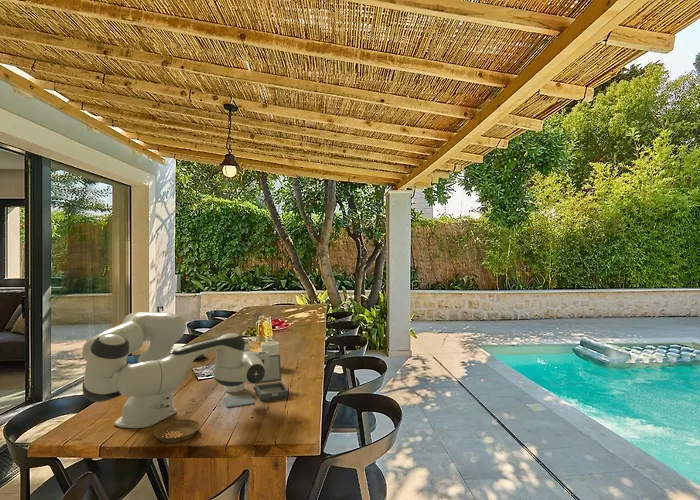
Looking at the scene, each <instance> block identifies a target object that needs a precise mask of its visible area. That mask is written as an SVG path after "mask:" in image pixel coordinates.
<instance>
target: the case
mask: <svg viewBox="0 0 700 500" xmlns="http://www.w3.org/2000/svg"><path fill="white" fill-rule="evenodd" d="M252 389H253V390H255V394H256V396H257V398H258V400H259V402H267V401H274V400H280V399H289V393H290V392H289V389H288V388H287V387H286V386H285V384H284V383H283V382H282V381H277V382H269V383H261V384H253V385H252Z"/></svg>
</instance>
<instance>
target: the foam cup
mask: <svg viewBox="0 0 700 500" xmlns="http://www.w3.org/2000/svg"><path fill="white" fill-rule="evenodd" d="M279 344H280V343H279V342H278V341H263V342H261V343H260V349H261V352H264V351H268V352H269V356H271V355H278V352H279V347H280V345H279Z"/></svg>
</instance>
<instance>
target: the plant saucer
mask: <svg viewBox="0 0 700 500" xmlns="http://www.w3.org/2000/svg"><path fill="white" fill-rule="evenodd" d="M200 427H201V424H200V423H199V421H197V420H193V419H186V418H185V419H177V420H175V419H174V420H171V421H167V422H164V423H162V424H160V425H158V426H157V427H155V428H154V430H153V435H154V437H155V438H157V439H158V440H159V441H161V442H163V443H179V442H182V441H183V442H184V441H185V440H188V439H190V438H191V437H193V436H194V435H195V434H196V432H197V431H198V430H199V429H200ZM167 431H168V432H169V433H171V431H173V432H174V431H175V432H176V431H180V433H183V435H181V436H180V437H176V438H174V437H172V438H170V437H169V435H167V436H168V437H169V438H166V436H165V435H166V434H168V432H167ZM165 433H166V434H165ZM162 436H163V437H162Z"/></svg>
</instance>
